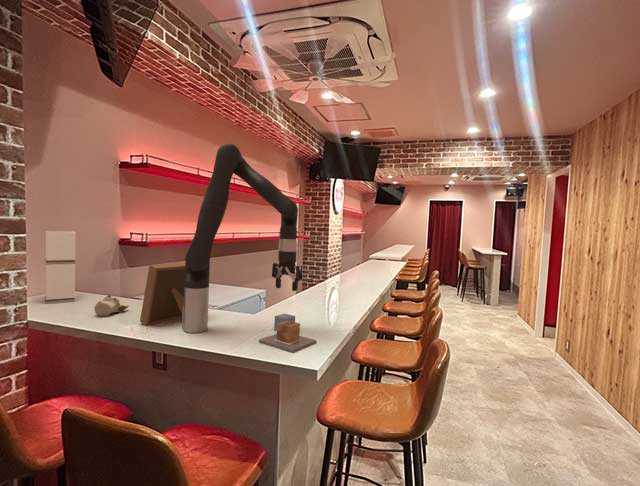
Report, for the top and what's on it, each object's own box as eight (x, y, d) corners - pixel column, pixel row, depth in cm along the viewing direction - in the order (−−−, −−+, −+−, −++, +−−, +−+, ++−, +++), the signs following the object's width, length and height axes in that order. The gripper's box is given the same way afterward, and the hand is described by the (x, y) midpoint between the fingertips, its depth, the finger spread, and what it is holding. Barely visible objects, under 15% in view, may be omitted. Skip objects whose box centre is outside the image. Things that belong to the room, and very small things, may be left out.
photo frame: (139, 324, 142) (141, 263, 141) (184, 314, 161) (186, 260, 160) (162, 330, 134) (163, 267, 133) (206, 319, 153) (208, 263, 152)
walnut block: (276, 339, 127) (276, 323, 126) (286, 336, 132) (287, 320, 131) (288, 343, 123) (289, 326, 123) (299, 339, 128) (299, 323, 128)
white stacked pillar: (72, 297, 183) (73, 231, 181) (74, 301, 175) (75, 232, 173) (45, 299, 175) (46, 231, 174) (45, 304, 167) (46, 231, 166)
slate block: (274, 330, 142) (274, 316, 142) (283, 327, 147) (284, 313, 147) (285, 333, 139) (285, 318, 138) (294, 330, 144) (295, 316, 143)
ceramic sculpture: (87, 296, 148) (108, 292, 163) (85, 317, 148) (107, 310, 163) (112, 298, 148) (130, 293, 163) (111, 318, 148) (129, 312, 163)
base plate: (258, 342, 126) (258, 339, 126) (283, 333, 138) (283, 331, 138) (292, 353, 117) (292, 349, 117) (316, 342, 129) (316, 339, 129)
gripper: (307, 251, 140) (305, 290, 141) (280, 248, 148) (279, 286, 149) (295, 251, 134) (293, 293, 135) (268, 249, 142) (267, 288, 143)
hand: (286, 289), depth 142 cm, fingers open, 8 cm apart
